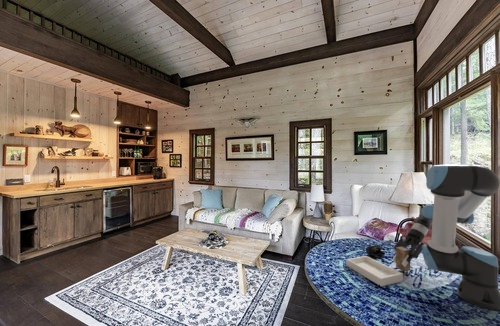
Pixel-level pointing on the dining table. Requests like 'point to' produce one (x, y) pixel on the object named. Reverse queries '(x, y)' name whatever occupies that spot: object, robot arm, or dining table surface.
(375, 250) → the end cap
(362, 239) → the dining table surface
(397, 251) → the walnut block
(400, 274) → the sorting tray
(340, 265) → the dining table surface
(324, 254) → the dining table surface
